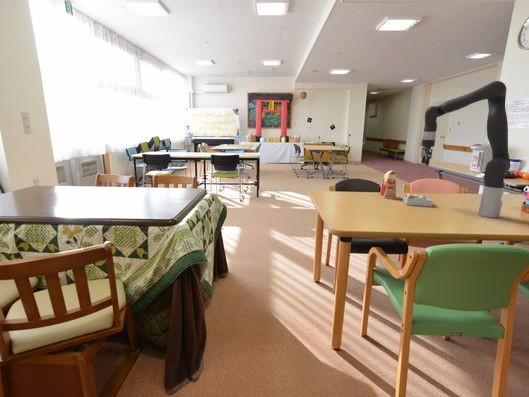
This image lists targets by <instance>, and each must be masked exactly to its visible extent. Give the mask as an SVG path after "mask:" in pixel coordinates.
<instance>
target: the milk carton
mask: <svg viewBox="0 0 529 397" xmlns="http://www.w3.org/2000/svg"><path fill="white" fill-rule="evenodd" d="M393 171H394V170H387V172H385V173H384V176H383V179H382V182H381V186H380V192H379V196H380V197H381V196H382V199H393V198H396V200H397V174H396V173H395V172H393Z"/></svg>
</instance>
